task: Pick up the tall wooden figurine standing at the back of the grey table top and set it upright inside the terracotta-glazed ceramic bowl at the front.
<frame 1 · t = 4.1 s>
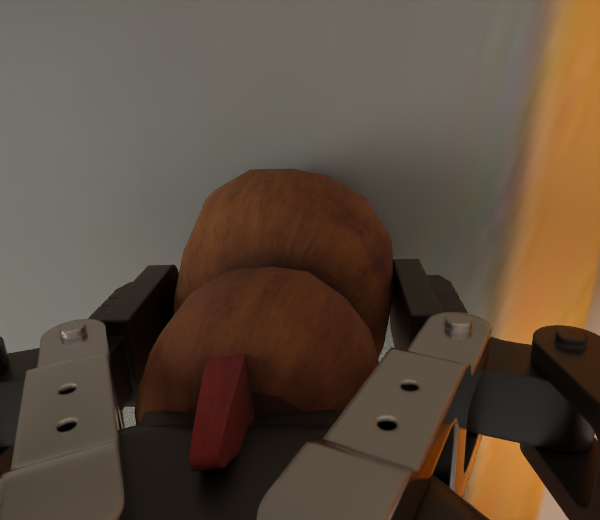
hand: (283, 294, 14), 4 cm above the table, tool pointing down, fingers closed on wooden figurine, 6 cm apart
wooden figurine: (295, 241, 19), on the table, touching gripper
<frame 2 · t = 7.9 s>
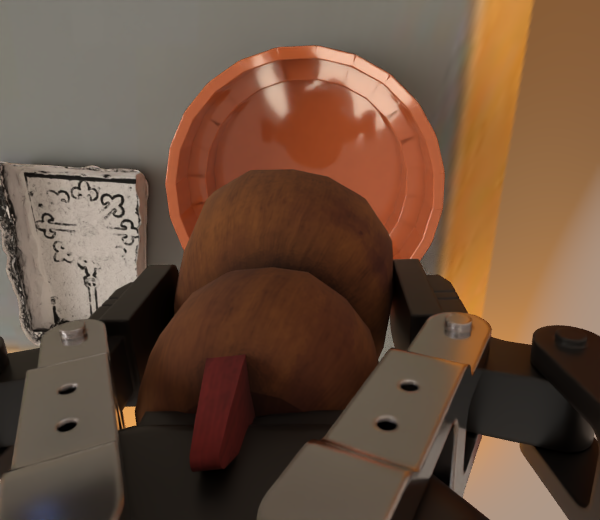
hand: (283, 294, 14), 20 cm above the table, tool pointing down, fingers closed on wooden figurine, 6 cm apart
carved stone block: (87, 251, 37), on the table
wooden figurine: (295, 242, 19), point 16 cm above the table, touching gripper
bowl: (307, 175, 34), on the table
when the fingers open (5 cm above the table, at t = 11.7 s): wooden figurine stays where it is, resting on bowl.
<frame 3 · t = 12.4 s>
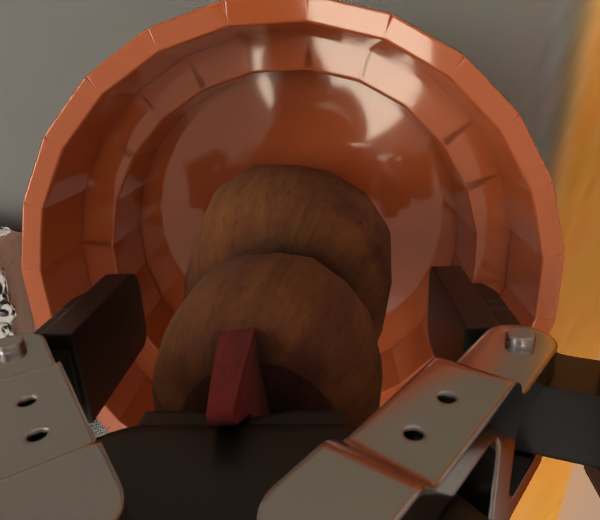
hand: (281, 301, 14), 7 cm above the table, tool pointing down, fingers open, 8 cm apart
wooden figurine: (297, 235, 20), point 1 cm above the table, touching bowl
bowl: (297, 232, 20), on the table
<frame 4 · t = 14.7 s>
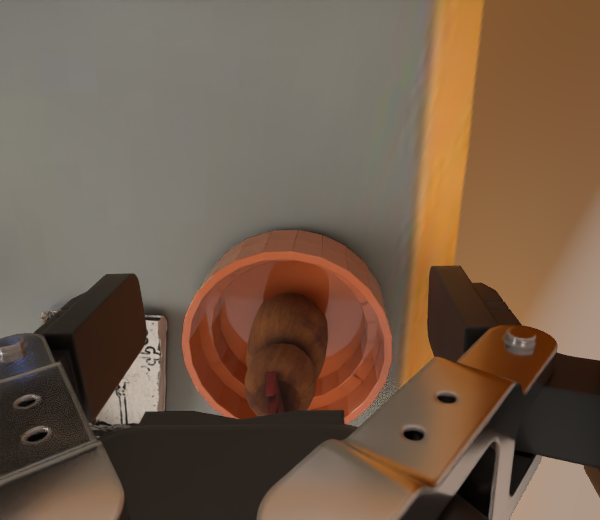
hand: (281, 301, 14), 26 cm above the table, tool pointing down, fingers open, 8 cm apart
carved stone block: (118, 369, 46), on the table
wooden figurine: (292, 317, 42), point 1 cm above the table, touching bowl
bowl: (292, 314, 42), on the table
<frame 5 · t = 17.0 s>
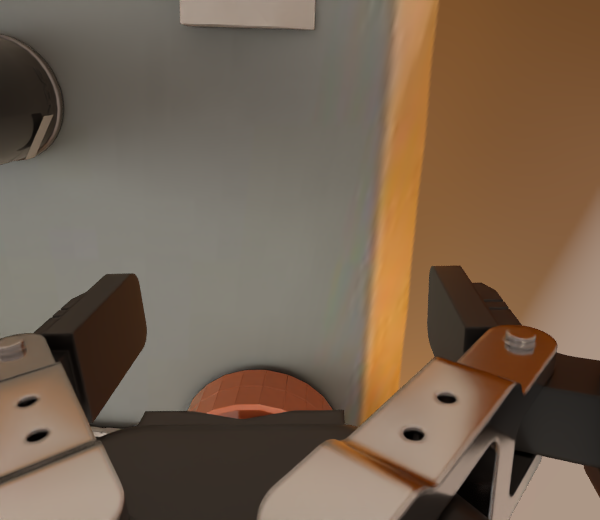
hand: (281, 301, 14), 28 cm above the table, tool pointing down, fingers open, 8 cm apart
bowl: (262, 432, 50), on the table
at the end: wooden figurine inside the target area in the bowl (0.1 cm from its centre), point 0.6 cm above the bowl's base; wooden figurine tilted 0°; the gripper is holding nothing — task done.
